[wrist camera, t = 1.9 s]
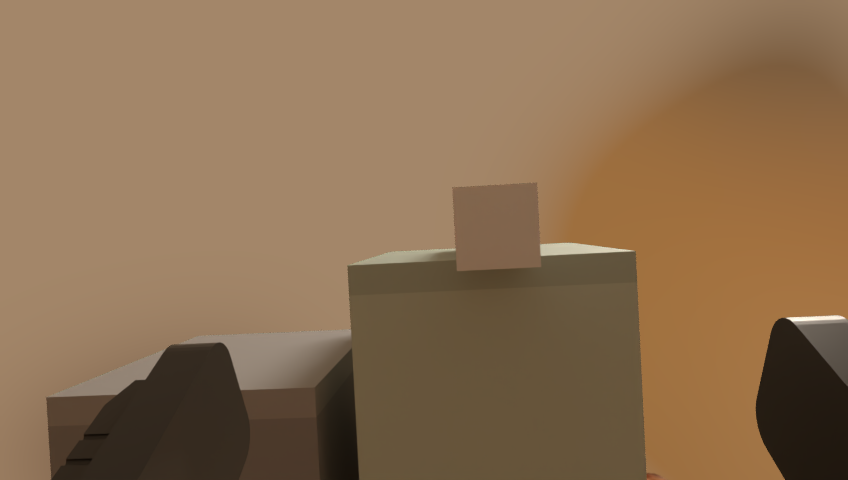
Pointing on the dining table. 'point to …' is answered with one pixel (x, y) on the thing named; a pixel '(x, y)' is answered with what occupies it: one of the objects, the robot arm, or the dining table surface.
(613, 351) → the sage green tall pillar
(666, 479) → the dining table surface
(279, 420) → the block
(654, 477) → the dining table surface
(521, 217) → the pale wooden bar
